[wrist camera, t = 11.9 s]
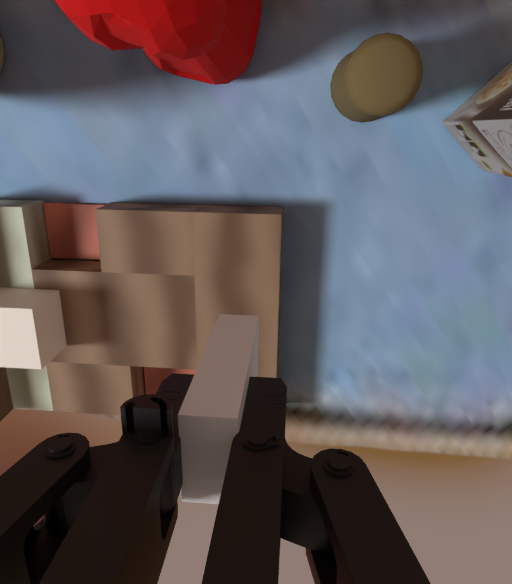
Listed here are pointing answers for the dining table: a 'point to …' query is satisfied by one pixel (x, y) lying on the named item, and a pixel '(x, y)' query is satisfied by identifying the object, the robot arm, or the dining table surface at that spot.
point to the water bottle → (175, 32)
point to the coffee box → (487, 124)
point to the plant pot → (1, 54)
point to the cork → (376, 78)
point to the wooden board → (136, 293)
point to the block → (30, 327)
